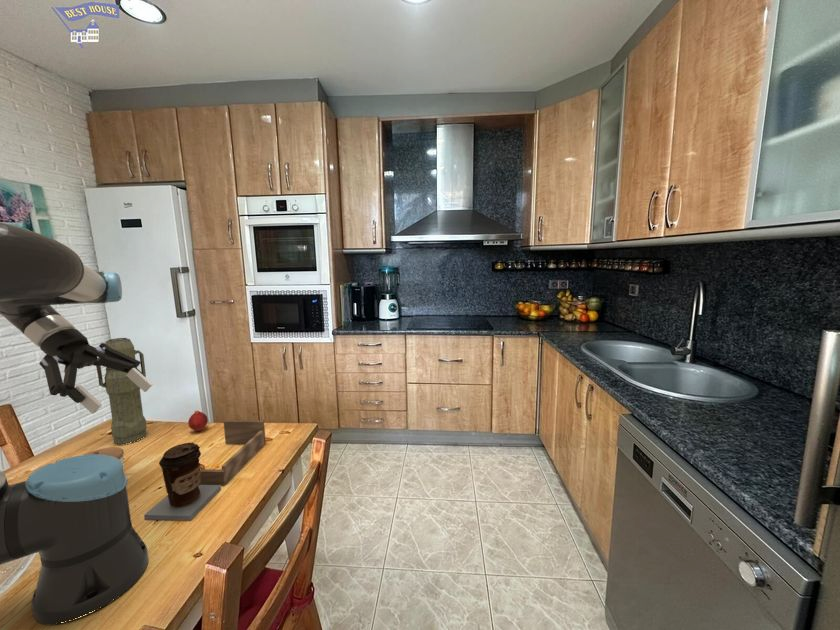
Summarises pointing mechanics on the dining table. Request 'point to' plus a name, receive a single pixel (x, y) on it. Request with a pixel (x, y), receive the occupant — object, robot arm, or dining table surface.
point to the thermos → (124, 396)
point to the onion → (198, 421)
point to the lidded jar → (110, 453)
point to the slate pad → (185, 512)
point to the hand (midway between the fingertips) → (125, 397)
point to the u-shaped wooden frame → (237, 434)
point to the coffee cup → (182, 473)
